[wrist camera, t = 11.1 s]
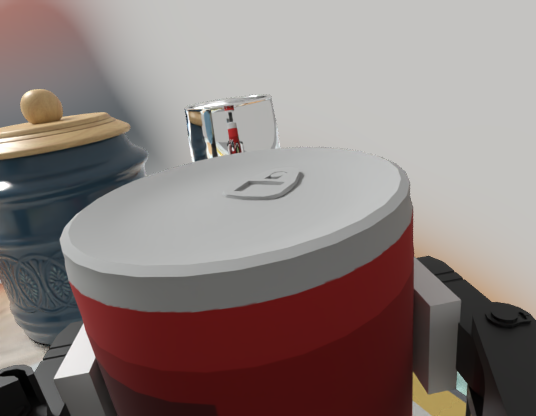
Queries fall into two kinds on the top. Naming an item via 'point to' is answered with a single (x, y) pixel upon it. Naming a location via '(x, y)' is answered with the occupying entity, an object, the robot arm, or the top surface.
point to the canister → (53, 202)
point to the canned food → (252, 286)
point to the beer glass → (231, 126)
